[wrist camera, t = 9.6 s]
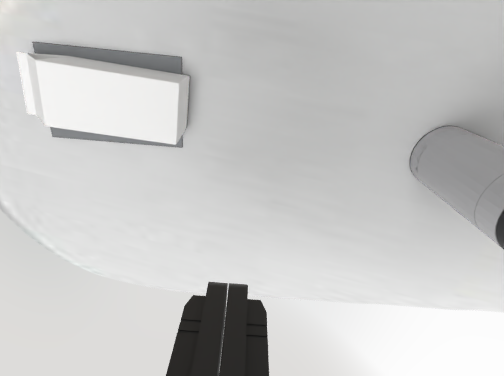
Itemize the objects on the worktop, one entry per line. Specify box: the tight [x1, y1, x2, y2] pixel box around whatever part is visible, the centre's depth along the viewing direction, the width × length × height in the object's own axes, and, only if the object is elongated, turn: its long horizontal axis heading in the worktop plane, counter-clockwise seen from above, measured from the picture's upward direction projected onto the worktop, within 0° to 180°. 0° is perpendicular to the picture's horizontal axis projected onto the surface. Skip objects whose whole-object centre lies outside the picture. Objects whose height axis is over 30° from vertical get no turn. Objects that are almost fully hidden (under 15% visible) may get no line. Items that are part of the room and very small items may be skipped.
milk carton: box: [16, 52, 190, 145], centre depth 36 cm, size 7×7×19 cm
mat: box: [33, 42, 183, 148], centre depth 40 cm, size 18×12×1 cm, turn 84°
